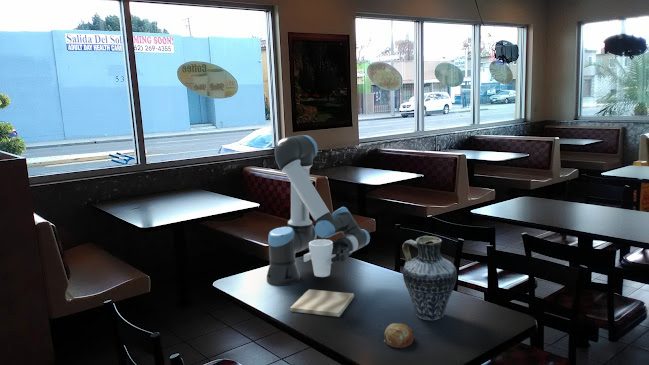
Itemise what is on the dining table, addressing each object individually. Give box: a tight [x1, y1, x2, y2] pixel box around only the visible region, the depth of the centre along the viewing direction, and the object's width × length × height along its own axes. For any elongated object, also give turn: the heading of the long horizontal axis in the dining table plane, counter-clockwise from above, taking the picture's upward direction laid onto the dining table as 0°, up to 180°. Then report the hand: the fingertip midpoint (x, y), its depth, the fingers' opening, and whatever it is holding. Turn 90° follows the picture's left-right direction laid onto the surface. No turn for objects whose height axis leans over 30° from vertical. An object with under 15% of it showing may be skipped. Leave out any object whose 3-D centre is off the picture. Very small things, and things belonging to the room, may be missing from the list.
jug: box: [401, 235, 458, 321], centre depth 195 cm, size 21×19×30 cm
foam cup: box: [308, 238, 334, 278], centre depth 209 cm, size 10×9×13 cm
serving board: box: [290, 288, 355, 318], centre depth 212 cm, size 20×20×2 cm
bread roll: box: [383, 323, 415, 349], centre depth 179 cm, size 10×10×8 cm
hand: (314, 260), depth 205 cm, fingers closed on foam cup, 9 cm apart
